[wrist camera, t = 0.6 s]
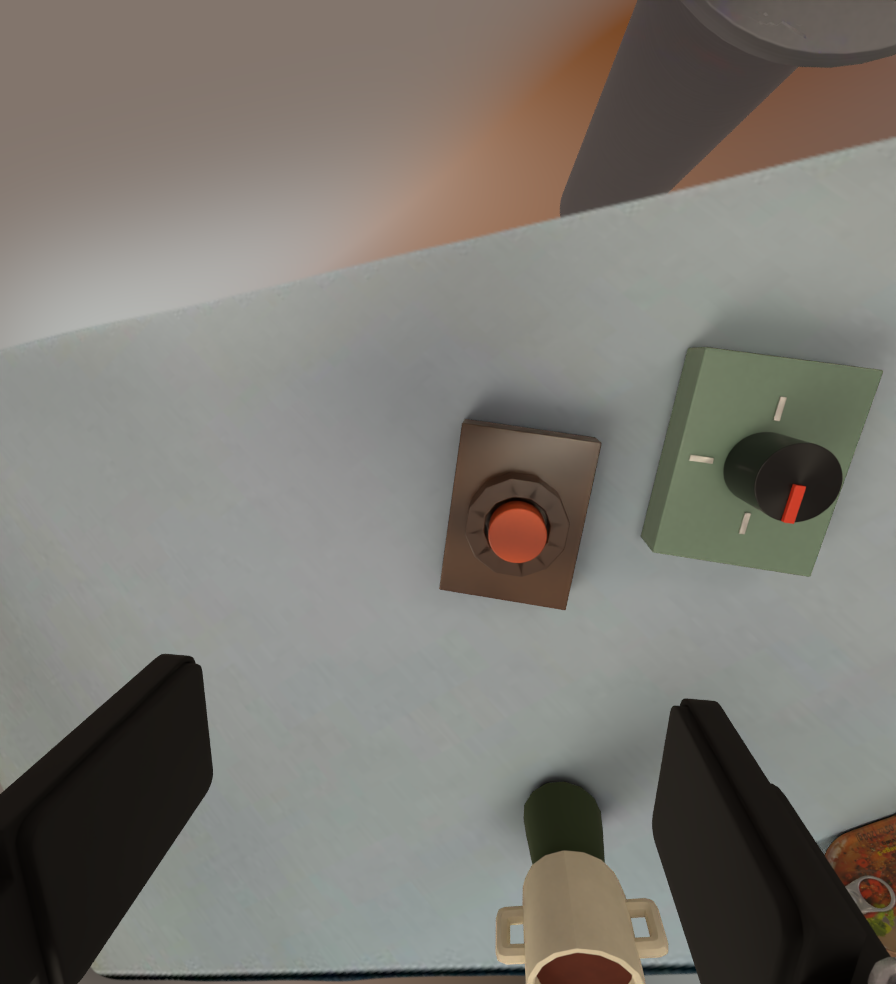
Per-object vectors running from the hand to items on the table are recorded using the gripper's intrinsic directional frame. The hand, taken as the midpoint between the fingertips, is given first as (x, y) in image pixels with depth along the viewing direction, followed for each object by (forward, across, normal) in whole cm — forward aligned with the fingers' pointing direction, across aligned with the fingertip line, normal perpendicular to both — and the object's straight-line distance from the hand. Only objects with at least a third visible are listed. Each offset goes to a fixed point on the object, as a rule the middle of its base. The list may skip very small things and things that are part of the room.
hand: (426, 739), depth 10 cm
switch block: (+27, -3, +3) cm, 27 cm away
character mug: (+27, -8, +29) cm, 40 cm away
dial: (+24, -17, -1) cm, 29 cm away
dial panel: (+27, -17, -1) cm, 32 cm away
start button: (+23, -3, +3) cm, 23 cm away
